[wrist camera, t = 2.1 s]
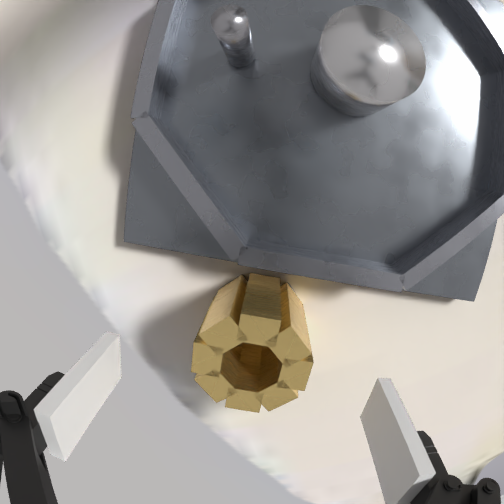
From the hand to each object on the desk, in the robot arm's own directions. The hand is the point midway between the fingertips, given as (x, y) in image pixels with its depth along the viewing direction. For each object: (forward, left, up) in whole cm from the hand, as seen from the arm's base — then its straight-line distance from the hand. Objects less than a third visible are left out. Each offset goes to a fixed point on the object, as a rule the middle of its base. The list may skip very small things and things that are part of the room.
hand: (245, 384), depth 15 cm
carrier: (-16, +3, -7) cm, 18 cm away
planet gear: (0, 0, -7) cm, 7 cm away
